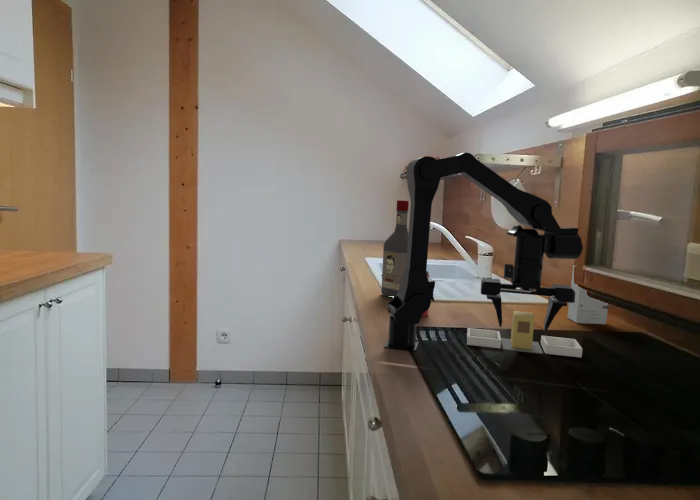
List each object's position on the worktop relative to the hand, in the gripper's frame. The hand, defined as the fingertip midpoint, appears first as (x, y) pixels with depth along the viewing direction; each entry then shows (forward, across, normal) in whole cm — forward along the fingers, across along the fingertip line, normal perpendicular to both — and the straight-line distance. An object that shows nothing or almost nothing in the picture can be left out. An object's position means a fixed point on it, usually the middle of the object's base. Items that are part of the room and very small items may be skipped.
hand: (522, 328), depth 105 cm
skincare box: (+4, -20, -31) cm, 37 cm away
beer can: (+4, +25, -19) cm, 32 cm away
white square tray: (+4, -8, 0) cm, 9 cm away
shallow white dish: (+4, +8, 0) cm, 9 cm away
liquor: (+4, +33, -41) cm, 53 cm away
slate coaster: (+4, 0, 0) cm, 4 cm away
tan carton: (+4, 0, 0) cm, 4 cm away
